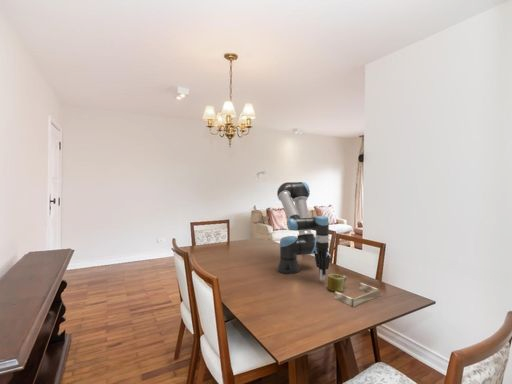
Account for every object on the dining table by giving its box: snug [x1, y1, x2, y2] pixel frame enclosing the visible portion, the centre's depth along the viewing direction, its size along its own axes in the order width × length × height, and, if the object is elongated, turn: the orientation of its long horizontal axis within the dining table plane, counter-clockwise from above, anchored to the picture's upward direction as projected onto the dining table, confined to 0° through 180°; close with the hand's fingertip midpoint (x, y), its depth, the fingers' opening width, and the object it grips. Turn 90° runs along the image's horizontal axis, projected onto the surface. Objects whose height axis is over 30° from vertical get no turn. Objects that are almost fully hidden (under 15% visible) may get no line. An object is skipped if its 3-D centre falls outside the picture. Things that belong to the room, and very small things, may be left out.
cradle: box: [333, 282, 381, 308], centre depth 150 cm, size 12×22×4 cm, turn 123°
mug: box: [327, 273, 348, 293], centre depth 160 cm, size 12×10×10 cm
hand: (322, 279), depth 171 cm, fingers closed
